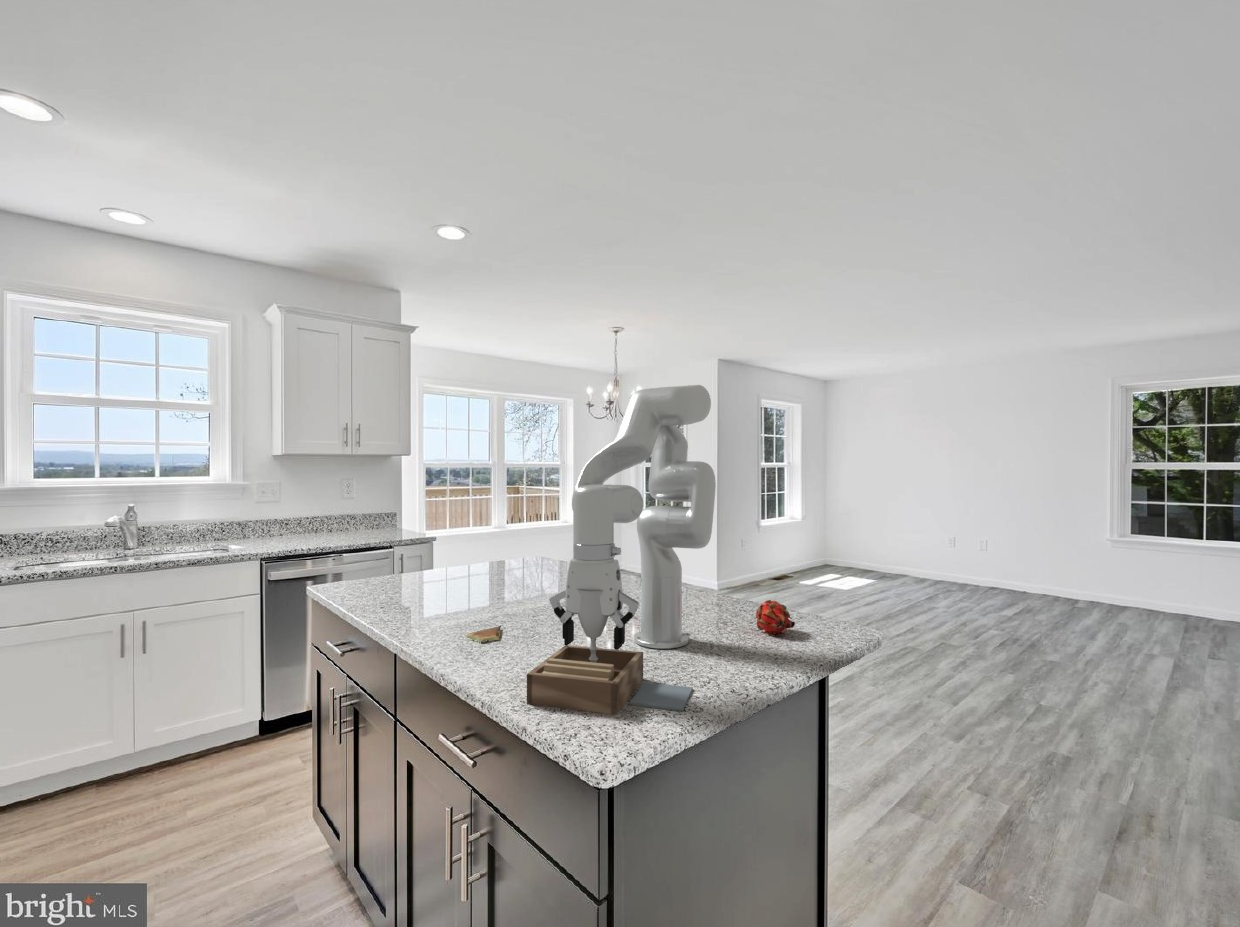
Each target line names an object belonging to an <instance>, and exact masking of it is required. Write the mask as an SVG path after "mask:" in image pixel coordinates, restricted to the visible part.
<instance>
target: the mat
mask: <svg viewBox="0 0 1240 927" xmlns="http://www.w3.org/2000/svg"><path fill="white" fill-rule="evenodd" d="M693 690H694V689H693V687H692V686H684V685H675V684H665V683H664V684H663V683H655V682H653V683H652V682H648V681H647V682H643V684H642V685H641V687H639V689H638V691H637V692H636V694H635V695H634V696H633V698H632V699H631V700H630V701H629V706H636V707H644V708H645V707H646V708H653V709H654V708H655V709H662V710H671V711H678V712H679V711H680V712H684V709H685V707H686V704H687V703H688V701H687V700H689V699H690V696H691V694H692V692H693Z"/></svg>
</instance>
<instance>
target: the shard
mask: <svg viewBox="0 0 1240 927" xmlns="http://www.w3.org/2000/svg"><path fill="white" fill-rule="evenodd" d="M501 628H502V625H499V626H495V627H490V628H485V629H482V630H481V629H480V630H478V631H474V632H470V633H467V634H466V635H465V636H464V637H465V638H466V637H467V638H470V639H472V640H477V641H479V642H483V641H486V640H498V641H499V640H500V636H501V632H502V631H501ZM472 640H471V641H472ZM483 643H484V642H483Z"/></svg>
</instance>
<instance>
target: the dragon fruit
mask: <svg viewBox="0 0 1240 927" xmlns="http://www.w3.org/2000/svg"><path fill="white" fill-rule="evenodd" d="M755 619H756V626H757V629H758V630H759V631H764V632H765V633H766V634H767V635H768V634H770V635H772V636H771V637H777V634H785V632H787V629H793V628H794V627H795V625H796V622H795V621H794V620H793V618H792V617H791V615H790V612H789V611H788V610H787V606H786V605H785V604H782V603H779V602H778V601H777V600H771V599H768V600H765V601H764V602H763V603H762V604H760V605H759V606H758V608H757V609H756V613H755ZM792 620H793V621H792ZM775 634H776V635H775ZM770 635H769V636H770Z"/></svg>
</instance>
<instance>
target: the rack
mask: <svg viewBox="0 0 1240 927" xmlns="http://www.w3.org/2000/svg"><path fill="white" fill-rule="evenodd" d="M589 648H590V647H589V646H578V645H570V644H569V645H564V646H562V647H561V648H560V649H558V650H557V651H555V652H554V653H553V654H551V655H550V656H549V657H548V658H546V659H544V660H543V661H542V662H541V663H539V664H538V665H537V666H536V667H534V668H533V669H532V670H530V671H529V672H527V673H526V704H527V705H536V706H543V707H550V708H560V709H567V710H575V711H576V710H577V711H582V712H583V711H584V712H591V713H600V714H608V715H615V716H616V715H618V714H619V712H620V711H621V709H622V708H623V707H624V705H625V704H626V702H627V701H628V700H629V699H630V697H631V696H632V694H633V693H634V692H635V690H636V689H637V688H638V686H639V685H640V684H641V683H642V681H643V680H644V651H634V650H623V649H621V650H620V649H618V650H615V649H614V648H602V647H600V648H599V647H597V648H598V649H597V650H596V657H597V658H598V660H597V661H596V663H603V664H613V665H614V680H613V681H608V680H599V679H589V678H580V677H570V676H561V675H552V674H542V672H543V671H544V665H545V664H546V663H547V660H548V659H549V658H553V659H563V660H573V661H583V662H590V660H589V658H590V656H591V651H590V649H589Z"/></svg>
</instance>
